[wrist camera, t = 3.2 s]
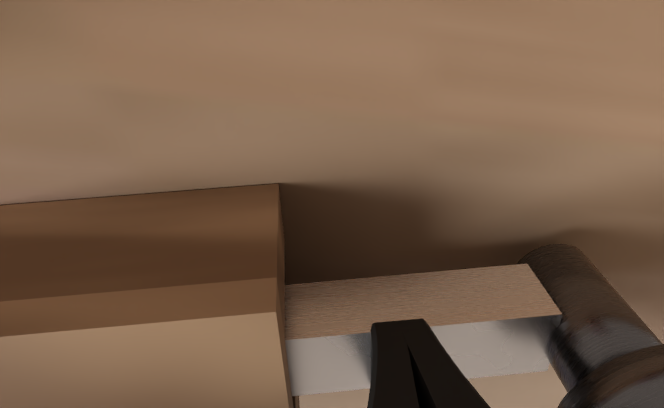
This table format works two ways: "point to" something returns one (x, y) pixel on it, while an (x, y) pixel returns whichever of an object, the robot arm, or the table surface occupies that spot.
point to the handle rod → (485, 328)
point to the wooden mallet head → (145, 301)
